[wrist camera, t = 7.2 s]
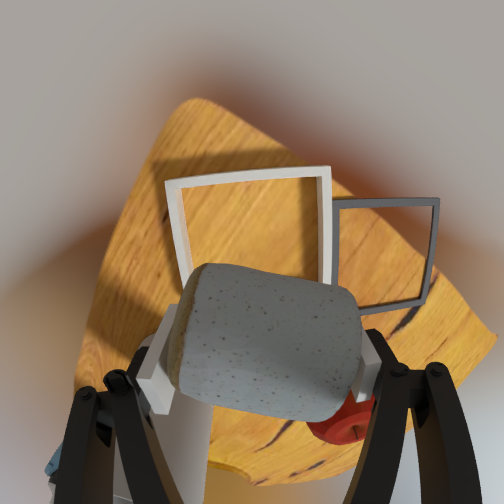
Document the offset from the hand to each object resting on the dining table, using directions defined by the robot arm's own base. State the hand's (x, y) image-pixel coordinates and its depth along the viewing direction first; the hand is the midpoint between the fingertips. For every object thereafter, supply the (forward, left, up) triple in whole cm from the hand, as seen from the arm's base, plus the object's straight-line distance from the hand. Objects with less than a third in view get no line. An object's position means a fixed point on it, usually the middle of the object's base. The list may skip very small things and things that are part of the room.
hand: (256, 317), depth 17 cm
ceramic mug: (0, -1, -1) cm, 1 cm away
